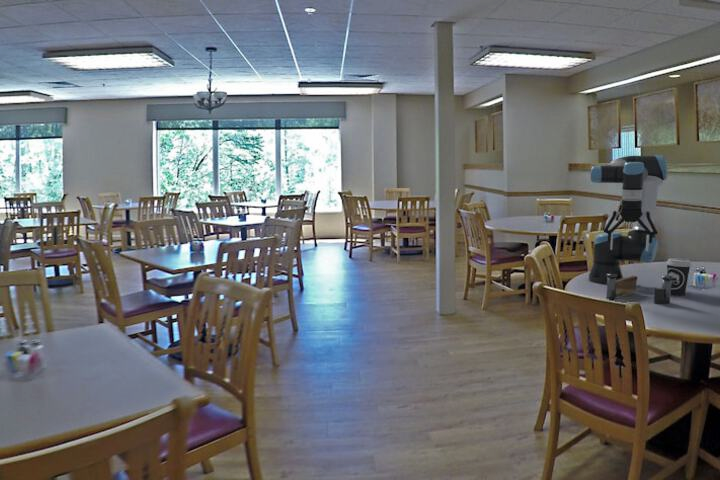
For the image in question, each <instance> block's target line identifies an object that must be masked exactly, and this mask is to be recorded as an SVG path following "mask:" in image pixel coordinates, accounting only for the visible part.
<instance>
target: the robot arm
mask: <svg viewBox="0 0 720 480" xmlns="http://www.w3.org/2000/svg"><path fill="white" fill-rule="evenodd" d="M667 165H668V164H667V158H666V156H664V155H656V154H654V155H626V156H622V157H619V158H615V159H613V160H611V161H610V163H608V164H605V165H592V167H591V169H590V174H589V175H590V176H589V177H590V182H592V183H594V184H622V188H621V189H622V191H621V199H622V200H621V208H620V211H616V210H613V211H612V215H611V217H610V218H609V220H608V222H607V224H606V226H605V227H604V229H603V232H602V233H598V234H597V233H596V235H595V236H594V241H593V262H592V266H591V268H590V271H589V273H588V280H589V281H590V282H593V283H597V284H598V283H599V284H606V285H607V279H608V276H607V274H608V273H613V274H617V277H616V280H618V279H622V278H624V276H623V271H622V269H621V261H622V262H625V261H626V262H635V263H642V264H643V263H648V264H649V263H652V262H654V259H655V258H656V255H657V252H658V249H659V248H658V247H659V238H658V237H656V235H658V230H657V229H656V226H655V225H654V222H655V216H656V209H657V199H658V193H659V188H660V186H662V185H663V183H664V181H666V180H668V166H667ZM619 215H620V217H621V218H620V219H619V220H617V222H616V223H615V224H614V225H613V226H612V227H611V225H612V224H613V222H614V220H615V219H616V217H619ZM624 222H626V223H632V229H630V230H628V232H627V235H623V233H622V232H620V231H616V229H617V228H619V226H620V225H622V224H623V223H624ZM610 227H611V228H610ZM609 228H610V229H609ZM614 231H615V232H614Z"/></svg>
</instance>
